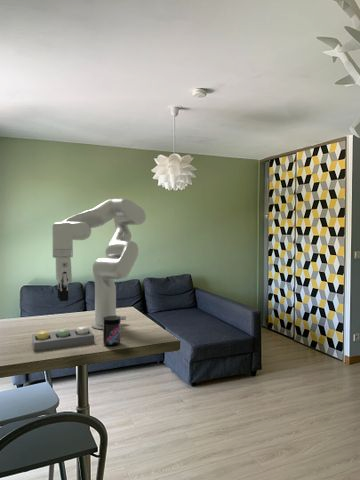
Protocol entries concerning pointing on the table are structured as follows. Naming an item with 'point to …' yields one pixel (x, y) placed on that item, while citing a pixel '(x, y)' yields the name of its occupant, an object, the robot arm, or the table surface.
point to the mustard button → (42, 335)
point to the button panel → (62, 340)
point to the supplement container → (111, 330)
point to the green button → (62, 333)
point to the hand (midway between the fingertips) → (62, 299)
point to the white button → (82, 330)
